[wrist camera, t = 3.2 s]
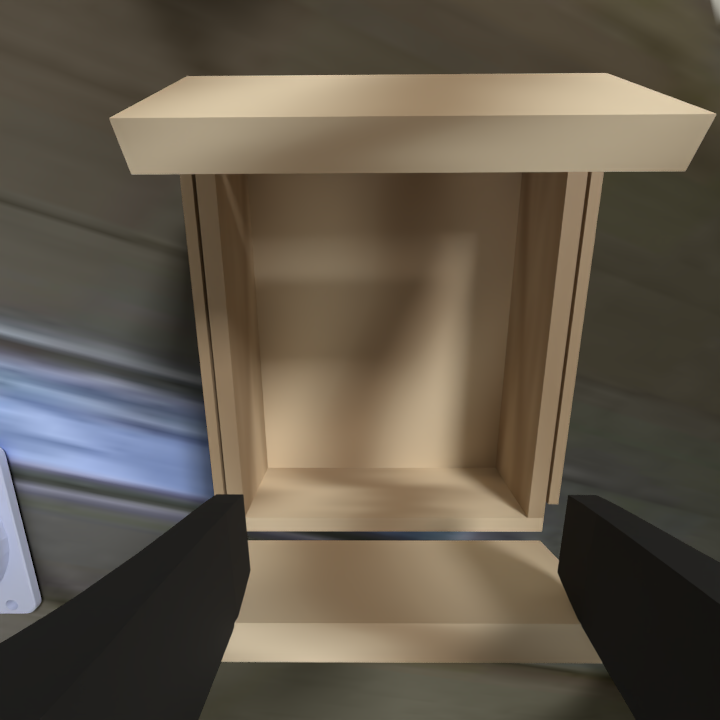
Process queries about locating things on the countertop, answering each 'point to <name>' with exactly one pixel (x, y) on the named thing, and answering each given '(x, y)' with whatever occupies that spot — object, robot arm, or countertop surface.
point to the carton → (390, 343)
